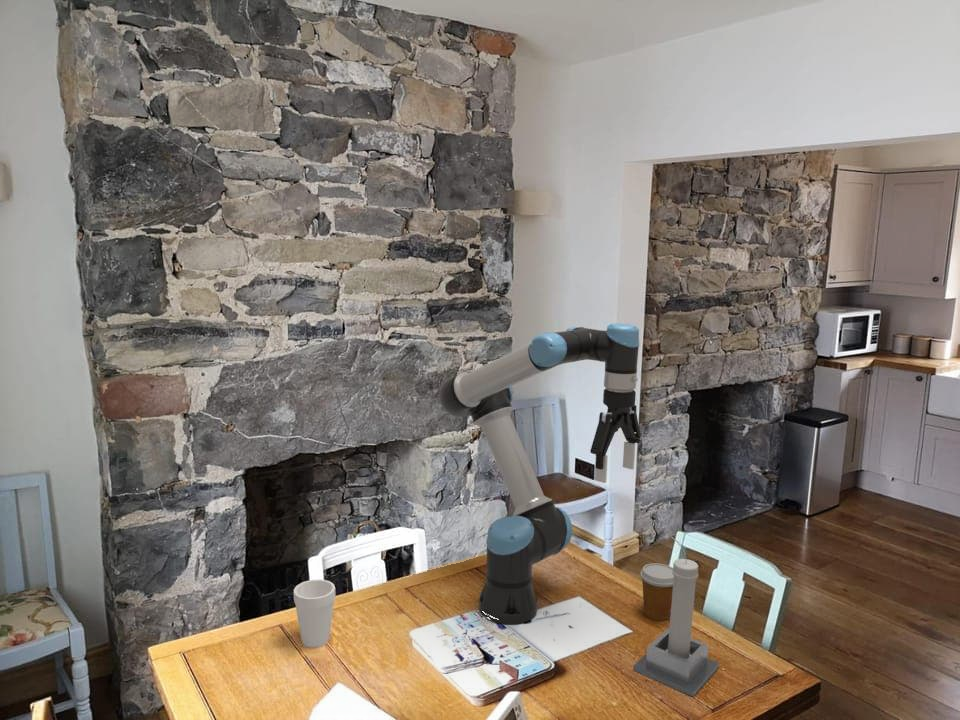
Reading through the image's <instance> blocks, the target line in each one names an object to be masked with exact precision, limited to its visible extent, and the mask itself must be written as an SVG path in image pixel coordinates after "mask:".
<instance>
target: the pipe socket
mask: <svg viewBox="0 0 960 720" xmlns="http://www.w3.org/2000/svg"><path fill="white" fill-rule="evenodd" d="M669 629H670V628H666V629H665V630H663V631H662V632H661V633H660V634H659V635H658V636H657V637H656V638H655V639H654V640H653V641H651V642H650V643H649V644H648V645H647V647H646V653H645V654H644V655H643V656H642V657H640V658H639V660H637V662H635V663H634V664H633V668H632V669H633V672H636V673H639V674H641V675H643V676H645V677H646V678H647V677H648V678H650V679H652V680H654V681H656V682H659V683H660V684H663V685H665V686H668V687H670V688H672V689H674V690H677V691H679V692H681V693H683V694H686V695H688V696H690V697H692V698H694V696H695V695H696V694H697V693H698V692H699V691H700V690H701V689H702V687H703V686H704V685H705V684H706V683H707V682H708V681H709V680H710V678H711V677H712V676H713V675H714V674H715V672H716V671H717V670H718V669H719V667H720V663H719V661H716V660H714V659H711V658H708V654H709V644H707V643H705V642H703V641H700V640H697V639H696V638H692V637H691V641H690V654H691V656H690V657H689V658H688V659H687V660H686V659H684V658H682V657H679V656H677V655H674V654H672V653H669V652H667V651H666V650H667V649H668V641H669Z"/></svg>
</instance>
